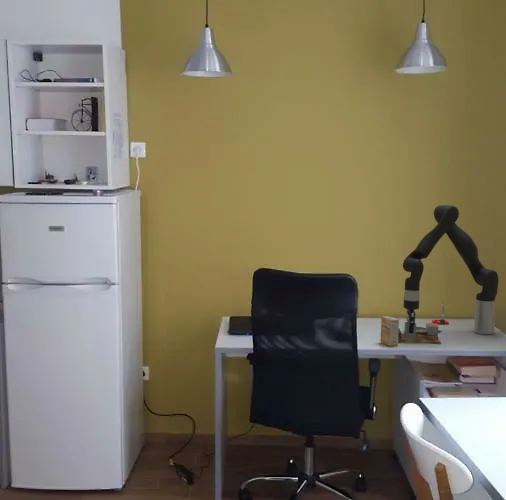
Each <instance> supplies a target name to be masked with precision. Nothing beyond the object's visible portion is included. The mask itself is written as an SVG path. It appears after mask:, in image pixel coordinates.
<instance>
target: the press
mask: <svg viewBox="0 0 506 500" xmlns="http://www.w3.org/2000/svg"><path fill="white" fill-rule="evenodd" d="M398 343H406V344H407V343H408V344H409V343H411V344H412V343H413V344H428V343H429V344H430V345H431V344H432V345H433V344H434V345H441V343H442V342H441V339H440V338H439V335H438V336H426V331H417V330H416V339H413V338H405V337H404V333H402V330H401V329H400V328H398Z"/></svg>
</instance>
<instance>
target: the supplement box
mask: <svg viewBox="0 0 506 500" xmlns="http://www.w3.org/2000/svg"><path fill="white" fill-rule="evenodd" d="M380 318H381V321H380V323H381V324H380V339H379V341H380V343H381V344H384V345H386V346H388V347H389V348H390V347H397V346H399V345H398V344H399V342H398V328H399V327H400V319H398V318H396V317H393V316H390V315H383V316H381V317H380Z"/></svg>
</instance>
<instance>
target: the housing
mask: <svg viewBox="0 0 506 500" xmlns="http://www.w3.org/2000/svg"><path fill="white" fill-rule="evenodd" d="M411 323H413V322H411ZM416 331H417V324H416V322H415V325H414V333H409V322H408V321H405V322H404V331H403V332H404V333H403V334H404V337H405V338H413V339H416Z"/></svg>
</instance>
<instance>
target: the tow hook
mask: <svg viewBox="0 0 506 500" xmlns="http://www.w3.org/2000/svg"><path fill="white" fill-rule="evenodd" d="M431 323H436V324H437V325H449V324H450V322H449V321H448V320H446V319H445V300H443V301H442V305H441V316H440V319H432V320H431Z"/></svg>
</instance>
